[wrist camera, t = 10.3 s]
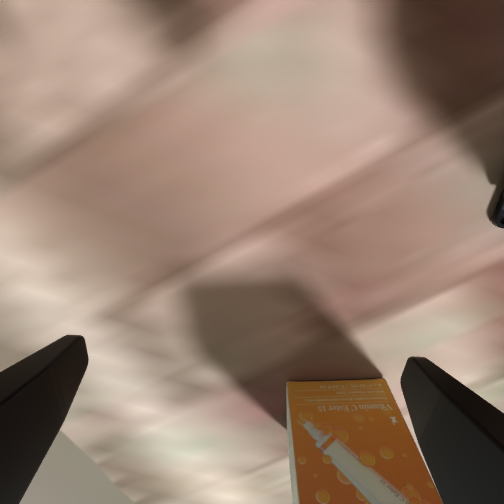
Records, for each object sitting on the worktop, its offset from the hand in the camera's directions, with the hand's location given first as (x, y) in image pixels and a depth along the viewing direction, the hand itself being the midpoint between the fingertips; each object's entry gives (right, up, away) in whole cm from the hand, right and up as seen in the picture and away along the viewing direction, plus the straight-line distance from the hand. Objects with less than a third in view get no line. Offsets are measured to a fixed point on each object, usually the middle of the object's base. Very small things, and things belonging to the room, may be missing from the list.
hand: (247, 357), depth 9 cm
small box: (+7, -10, +18) cm, 22 cm away
